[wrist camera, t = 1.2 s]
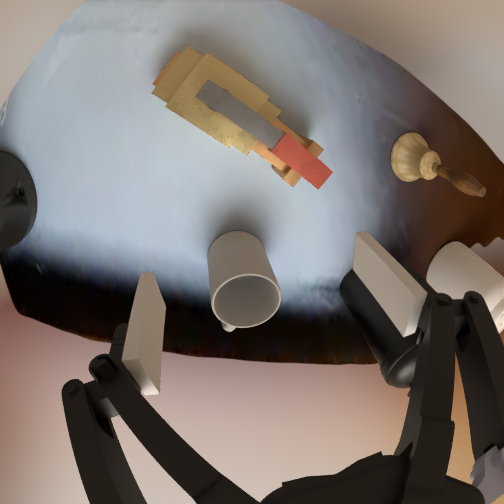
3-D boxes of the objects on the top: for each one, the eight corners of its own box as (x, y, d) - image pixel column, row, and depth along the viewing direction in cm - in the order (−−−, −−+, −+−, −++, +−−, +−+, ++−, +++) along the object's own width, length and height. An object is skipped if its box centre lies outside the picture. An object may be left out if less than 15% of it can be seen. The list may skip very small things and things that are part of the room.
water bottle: (334, 311, 53) (388, 411, 34) (336, 266, 48) (406, 371, 28) (380, 297, 54) (442, 385, 34) (386, 254, 49) (465, 342, 29)
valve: (152, 93, 31) (141, 92, 25) (186, 49, 28) (183, 38, 22) (278, 177, 39) (292, 194, 33) (310, 138, 37) (331, 147, 31)
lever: (194, 98, 26) (193, 98, 23) (209, 79, 25) (209, 77, 22) (306, 179, 32) (318, 189, 29) (319, 163, 32) (332, 171, 28)
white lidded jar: (430, 245, 50) (497, 306, 33) (469, 235, 51) (530, 286, 34) (419, 295, 56) (471, 357, 39) (456, 281, 57) (507, 334, 40)
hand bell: (432, 139, 39) (505, 168, 25) (420, 185, 43) (487, 225, 29) (396, 125, 37) (473, 150, 24) (384, 175, 41) (453, 217, 27)
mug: (216, 224, 41) (221, 266, 31) (272, 237, 43) (293, 280, 34) (196, 291, 46) (197, 342, 37) (247, 300, 48) (258, 349, 39)
